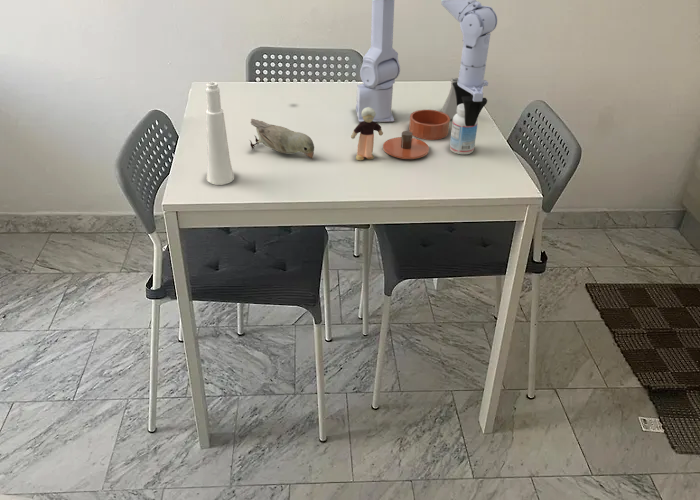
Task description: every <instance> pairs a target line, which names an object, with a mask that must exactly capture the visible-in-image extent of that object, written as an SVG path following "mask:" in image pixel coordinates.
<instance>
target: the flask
mask: <svg viewBox="0 0 700 500" xmlns="http://www.w3.org/2000/svg"><path fill="white" fill-rule="evenodd" d="M458 78H459V77H452V78H451V79H450V83H451V86H450V89H449V93H448V95H447V98H446V99H445V101H444V104H443V106H442V108H441V110H440V112H443V113H445V114H447V115H448V116H449V117H450V120H452V121H453V117H454V115H456V114H457V101H456V94H455V90H454V87H453V83H454V82H458Z"/></svg>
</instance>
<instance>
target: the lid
mask: <svg viewBox="0 0 700 500" xmlns="http://www.w3.org/2000/svg"><path fill="white" fill-rule="evenodd" d="M382 149H383V152H385V153H386V154H387V155H389V156H391V157H394V158H396V159H402V160H414V159H420V158H423V157H425V156H427V155H428V153H429V151H430V147H429V145H428V143H426V142H425V141H423V140H422V139H420V138H416V137H413V133H412V132H410V131H409V130H404V131H402V132H401V136H398V137H392V138H389V139H387V140H385V141H384V142H383V145H382Z"/></svg>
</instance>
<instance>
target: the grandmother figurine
mask: <svg viewBox="0 0 700 500" xmlns="http://www.w3.org/2000/svg"><path fill="white" fill-rule="evenodd" d="M361 114H362V117H363V120H364V121H363V122H359V123H358V124H357V125H356V127H355V128H354V129H353V132H352V134H351V135H350V138H351V139H352V140H354V139H356V137H357V135H358V134H359V137H358V143H357V149H356V156H355V160H356V161H364V160H365V159H366V160H373V159H375V156H374V155H373V153H374V152H373V151H374V144H375V143H374V141H375V132H377V133H378V135H379V136H383V134H384V132H383V130H382V126H381V125H380V124H379V122H373V119H374V117H375V115H376V113H375V111H374V110H373V109H372V108H370V107H367V108H364V109H363V110H362V112H361ZM374 131H375V132H374Z"/></svg>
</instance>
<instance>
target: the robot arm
mask: <svg viewBox="0 0 700 500" xmlns="http://www.w3.org/2000/svg"><path fill="white" fill-rule="evenodd" d="M440 3H441V6H442V7H443V8H444V9H445V10H446V11H447V12H448V13H449V14H450V15H451V16H452V17H453V18H454V19H455V20H457V22H458V23H459V28H460V31H461V34H462V49H461V58H460V65H459V66H460V67H459V71H458V77H457V78H458V82H454V83H453V87H454V90H455V94H456V101H457V106H458V105H459V104H464V109H465V125H466V126H474V125H475V123H476V121H477V118H478V119H479V116H480V114H481V111H482V110H483V108H484V107H485V106H486V105H487V103H488V99H487V97H484V92H483V90H484V87H488V86H489V81H488V80H486V79H485V74H486V67H487V60H488V53H489V48H490V47H489V46H490V42H491V41H490V40H491V33H492V32H493V31H495V30H496V28H497V25H498V15H497V13H496V12H495V10H494V9H493V7H492V6H489V5H482V2H481V1H479V0H440ZM394 20H395V0H371V22H370V23H371V24H370V27H371V28H370V48H369V49H368V50H367V51H366V52H365V54H364V55H363V56H362V65H361V66H360V69H359V77H360V80H361V82H362V83H361V84H357V87H356V102H355V104H356V105H355V112H356V117H357V120H358V122H359V123H360V122H363V121H364V120H363V117H362V114H361V112H362V110H363V109H364V108H367V107H370V108H372V109H373V110H374V111H375V113H376V115H375V117H374V119H373V122H376V123H388V122H389V123H390V122H391V123H392V122H395V118H394V115H393V113H392V107H393V105H392V104H393V90H394V84H395V83H396V79H398V77H399V76H400V74H401V66H400V61H399V53H398V51H396V50H395V49H394V47H393V46H394V45H393V42H394V41H393V40H394Z"/></svg>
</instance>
